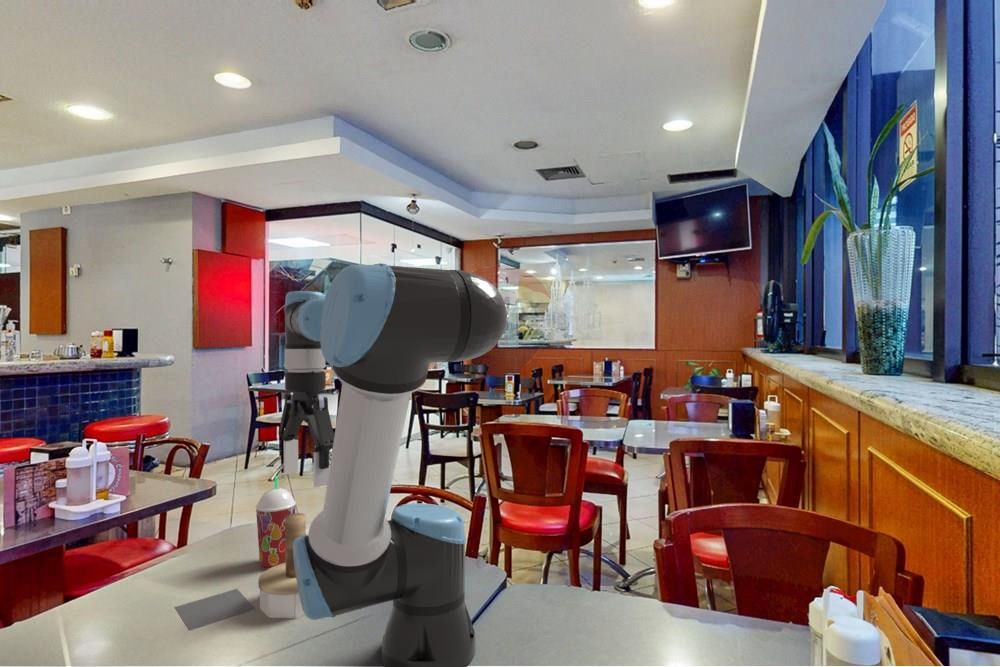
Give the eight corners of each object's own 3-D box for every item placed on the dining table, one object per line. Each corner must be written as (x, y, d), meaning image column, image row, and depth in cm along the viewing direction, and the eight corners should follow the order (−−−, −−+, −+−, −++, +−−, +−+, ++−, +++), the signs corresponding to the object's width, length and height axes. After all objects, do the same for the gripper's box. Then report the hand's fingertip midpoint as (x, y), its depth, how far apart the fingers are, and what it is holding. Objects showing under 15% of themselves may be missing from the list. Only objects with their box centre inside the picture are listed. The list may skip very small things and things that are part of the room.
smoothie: (302, 558, 126) (302, 472, 126) (284, 574, 118) (284, 481, 118) (268, 557, 127) (268, 471, 127) (248, 572, 119) (248, 480, 119)
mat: (255, 611, 102) (255, 608, 102) (189, 633, 94) (189, 630, 94) (237, 591, 110) (237, 588, 110) (174, 610, 102) (174, 607, 102)
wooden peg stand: (343, 579, 104) (342, 516, 104) (273, 602, 95) (273, 533, 95) (314, 559, 113) (314, 501, 113) (248, 578, 104) (248, 515, 105)
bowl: (337, 606, 104) (337, 579, 104) (275, 628, 96) (275, 599, 96) (312, 585, 112) (312, 561, 112) (253, 604, 104) (253, 578, 104)
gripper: (354, 372, 100) (355, 487, 100) (296, 367, 118) (296, 464, 118) (316, 374, 95) (316, 495, 95) (261, 368, 113) (261, 470, 113)
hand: (305, 478), depth 107 cm, fingers open, 13 cm apart
